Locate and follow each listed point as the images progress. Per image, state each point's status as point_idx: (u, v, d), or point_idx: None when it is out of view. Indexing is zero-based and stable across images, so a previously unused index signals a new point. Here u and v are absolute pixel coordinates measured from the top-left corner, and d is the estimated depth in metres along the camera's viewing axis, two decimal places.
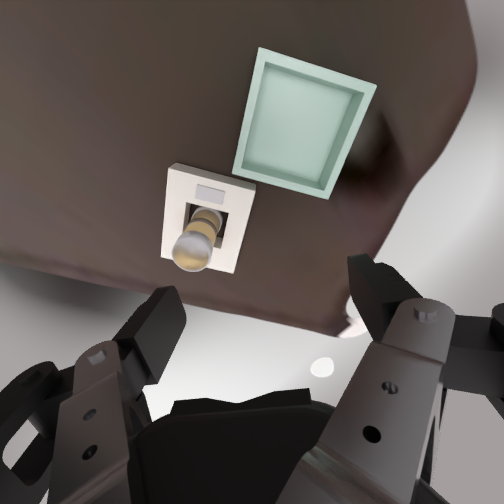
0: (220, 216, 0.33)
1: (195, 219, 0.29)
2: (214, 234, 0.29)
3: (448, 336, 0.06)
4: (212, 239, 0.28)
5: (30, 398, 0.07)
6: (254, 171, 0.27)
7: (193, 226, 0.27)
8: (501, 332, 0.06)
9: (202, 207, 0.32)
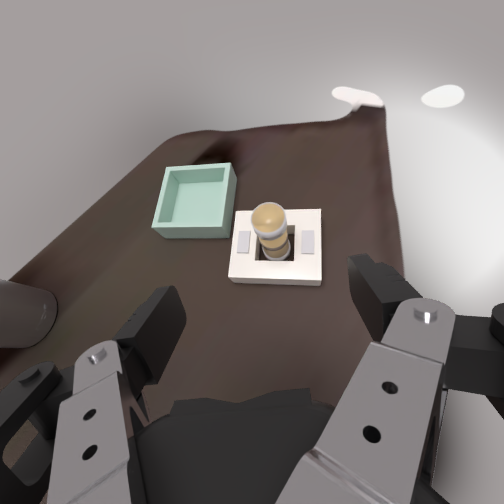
0: None
1: (261, 243, 0.32)
2: None
3: (448, 336, 0.06)
4: None
5: (30, 398, 0.07)
6: None
7: (258, 236, 0.31)
8: (501, 332, 0.06)
9: None
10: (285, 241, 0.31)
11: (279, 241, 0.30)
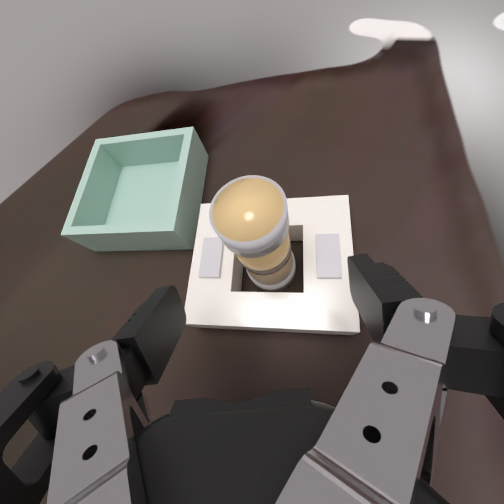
0: None
1: None
2: None
3: (448, 336, 0.06)
4: None
5: (30, 398, 0.07)
6: None
7: None
8: (501, 332, 0.06)
9: None
10: (286, 256, 0.16)
11: (274, 258, 0.15)
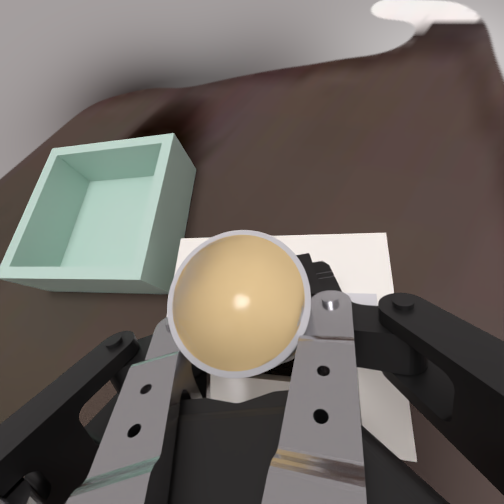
0: None
1: None
2: None
3: (337, 320, 0.07)
4: None
5: (108, 367, 0.07)
6: None
7: None
8: (388, 322, 0.07)
9: None
10: None
11: None
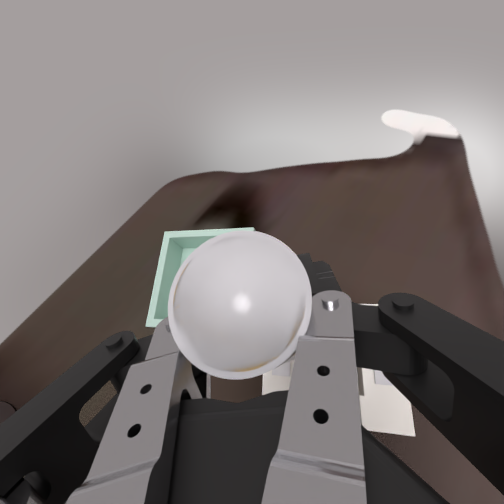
0: None
1: None
2: None
3: (337, 320, 0.07)
4: None
5: (108, 367, 0.07)
6: None
7: None
8: (388, 322, 0.07)
9: None
10: None
11: None
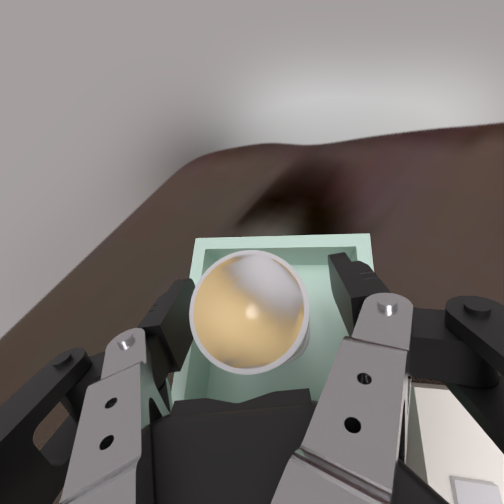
0: None
1: None
2: None
3: (403, 326, 0.06)
4: None
5: (61, 384, 0.07)
6: None
7: None
8: (455, 325, 0.06)
9: None
10: None
11: None
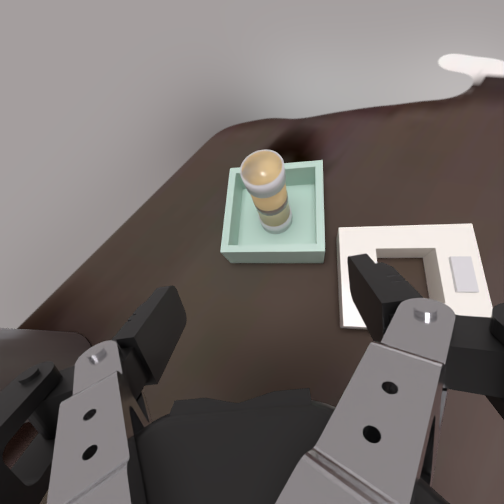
0: None
1: None
2: None
3: (448, 336, 0.06)
4: None
5: (30, 398, 0.07)
6: None
7: (251, 196, 0.25)
8: (501, 332, 0.06)
9: (260, 221, 0.30)
10: (285, 202, 0.26)
11: (277, 200, 0.24)
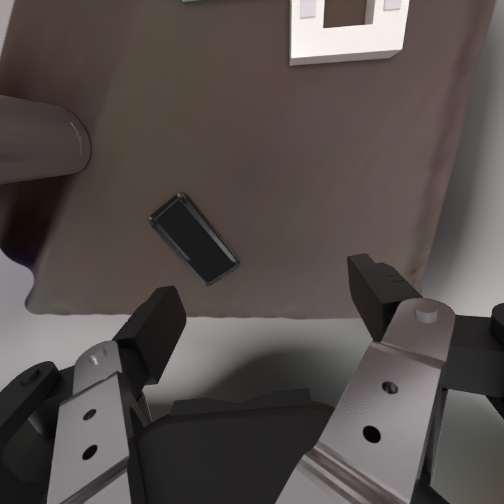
0: None
1: None
2: None
3: (448, 336, 0.06)
4: None
5: (30, 398, 0.07)
6: None
7: None
8: (501, 332, 0.06)
9: None
10: None
11: None
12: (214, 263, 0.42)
